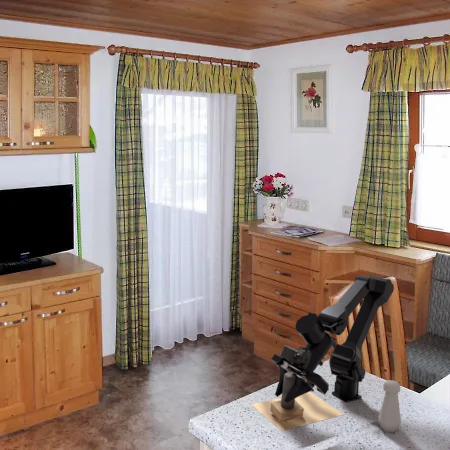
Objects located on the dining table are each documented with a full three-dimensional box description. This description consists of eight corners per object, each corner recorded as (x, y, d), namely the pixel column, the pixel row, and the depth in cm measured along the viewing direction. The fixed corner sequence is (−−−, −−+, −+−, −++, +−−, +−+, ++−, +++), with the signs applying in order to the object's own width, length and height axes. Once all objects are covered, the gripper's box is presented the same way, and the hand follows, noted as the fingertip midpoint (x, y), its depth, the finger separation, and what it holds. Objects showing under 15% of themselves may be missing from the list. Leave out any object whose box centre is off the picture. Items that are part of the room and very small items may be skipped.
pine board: (309, 395, 173) (309, 391, 172) (343, 419, 159) (343, 414, 158) (250, 409, 163) (250, 404, 163) (281, 436, 149) (281, 430, 149)
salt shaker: (401, 435, 151) (404, 388, 149) (378, 432, 152) (381, 385, 150) (399, 424, 157) (402, 378, 155) (377, 421, 158) (380, 376, 156)
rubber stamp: (291, 405, 161) (296, 368, 158) (302, 416, 157) (307, 379, 154) (270, 410, 158) (274, 372, 155) (280, 421, 154) (285, 383, 151)
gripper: (277, 325, 162) (243, 370, 158) (323, 346, 147) (286, 397, 143) (298, 347, 168) (265, 391, 164) (343, 369, 152) (309, 419, 148)
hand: (280, 398), depth 154 cm, fingers closed on rubber stamp, 4 cm apart
